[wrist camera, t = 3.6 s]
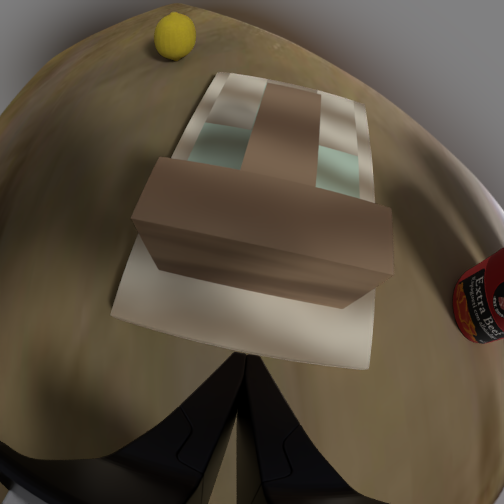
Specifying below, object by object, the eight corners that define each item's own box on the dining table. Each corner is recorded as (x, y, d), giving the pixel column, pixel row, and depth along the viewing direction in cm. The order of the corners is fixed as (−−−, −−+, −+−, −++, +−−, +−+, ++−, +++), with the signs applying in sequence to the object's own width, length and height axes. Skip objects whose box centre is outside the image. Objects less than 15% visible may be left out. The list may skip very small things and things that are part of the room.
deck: (361, 369, 19) (368, 368, 18) (116, 318, 19) (110, 314, 18) (361, 111, 31) (364, 104, 30) (218, 79, 31) (218, 71, 30)
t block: (342, 309, 19) (394, 275, 13) (158, 269, 19) (130, 218, 13) (348, 168, 25) (377, 112, 18) (208, 137, 25) (207, 73, 18)
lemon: (203, 62, 33) (203, 12, 25) (165, 73, 31) (160, 21, 24) (186, 49, 34) (184, 4, 27) (151, 60, 33) (146, 13, 25)
